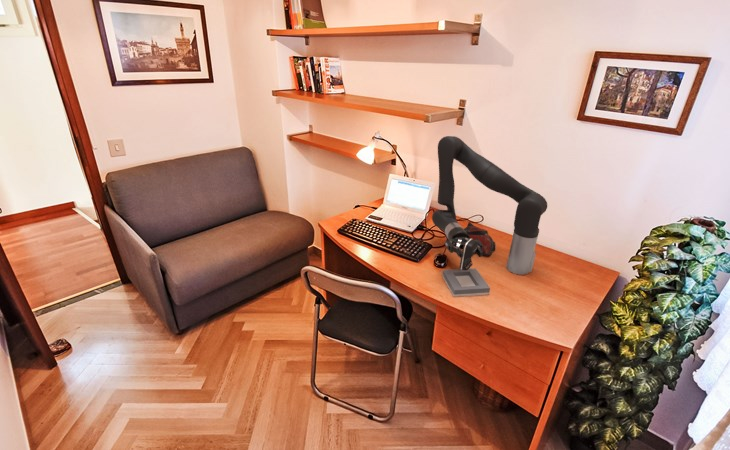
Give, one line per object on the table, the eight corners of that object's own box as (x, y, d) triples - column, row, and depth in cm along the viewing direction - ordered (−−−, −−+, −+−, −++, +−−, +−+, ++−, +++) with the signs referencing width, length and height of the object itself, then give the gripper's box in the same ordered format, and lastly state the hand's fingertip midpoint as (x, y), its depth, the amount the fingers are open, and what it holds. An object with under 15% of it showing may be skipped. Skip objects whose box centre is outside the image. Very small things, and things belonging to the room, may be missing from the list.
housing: (474, 274, 152) (475, 268, 151) (488, 294, 139) (490, 288, 138) (442, 276, 150) (442, 270, 149) (453, 296, 138) (454, 290, 137)
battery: (468, 272, 138) (473, 246, 133) (458, 269, 140) (463, 243, 135) (475, 265, 143) (480, 239, 138) (466, 261, 145) (470, 236, 140)
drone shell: (461, 231, 189) (463, 216, 186) (500, 240, 181) (503, 225, 177) (449, 248, 172) (450, 233, 169) (491, 259, 164) (494, 243, 160)
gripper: (440, 227, 149) (454, 247, 134) (474, 226, 150) (491, 246, 136) (438, 243, 152) (451, 264, 137) (471, 241, 154) (488, 263, 139)
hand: (471, 255), depth 137 cm, fingers closed on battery, 7 cm apart
